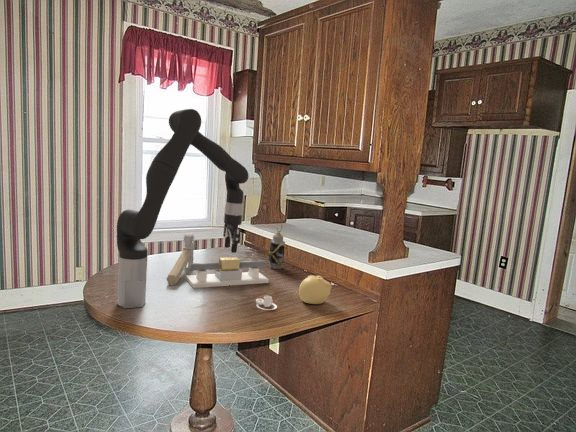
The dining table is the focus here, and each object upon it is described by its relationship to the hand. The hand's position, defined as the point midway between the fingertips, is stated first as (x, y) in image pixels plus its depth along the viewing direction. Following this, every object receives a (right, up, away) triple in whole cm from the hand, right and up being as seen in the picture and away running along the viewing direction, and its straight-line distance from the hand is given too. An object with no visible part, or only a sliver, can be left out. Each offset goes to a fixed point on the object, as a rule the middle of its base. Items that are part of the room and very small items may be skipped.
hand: (230, 249), depth 178 cm
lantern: (+18, -12, +31) cm, 38 cm away
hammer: (-23, -12, +4) cm, 26 cm away
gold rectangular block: (-1, -10, +2) cm, 10 cm away
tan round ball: (+35, -20, -13) cm, 42 cm away
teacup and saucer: (+17, -20, -19) cm, 33 cm away
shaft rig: (-2, -14, +2) cm, 14 cm away
